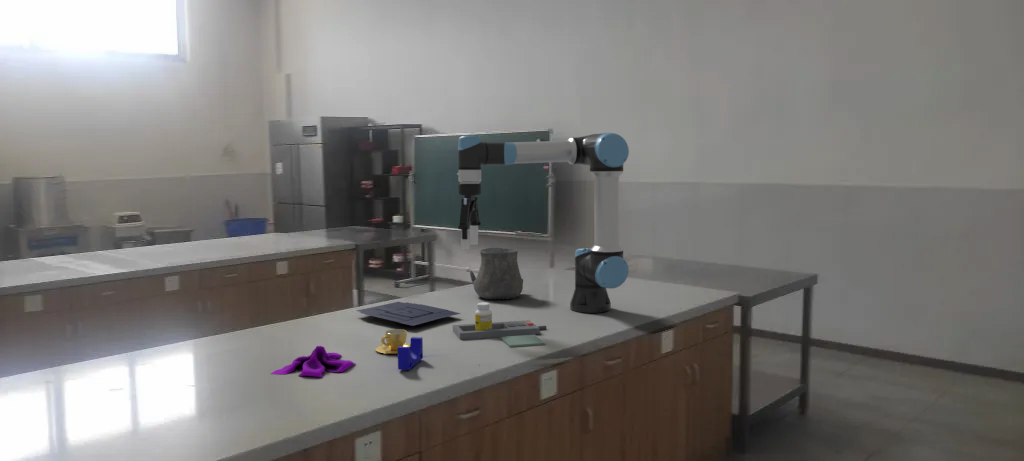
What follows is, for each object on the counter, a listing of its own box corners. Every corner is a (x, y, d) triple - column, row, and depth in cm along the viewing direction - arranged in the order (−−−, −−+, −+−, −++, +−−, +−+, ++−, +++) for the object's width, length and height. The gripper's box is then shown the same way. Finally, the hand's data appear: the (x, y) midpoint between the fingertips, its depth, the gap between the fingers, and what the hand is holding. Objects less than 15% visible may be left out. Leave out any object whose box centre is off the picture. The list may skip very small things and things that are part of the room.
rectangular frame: (540, 325, 250) (540, 317, 250) (551, 333, 239) (551, 325, 238) (452, 331, 242) (452, 323, 242) (459, 339, 231) (459, 331, 231)
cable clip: (407, 357, 211) (407, 336, 210) (422, 358, 210) (422, 337, 210) (392, 369, 199) (392, 347, 199) (408, 369, 198) (408, 348, 198)
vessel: (538, 299, 296) (538, 250, 294) (492, 306, 284) (491, 254, 282) (508, 292, 314) (508, 245, 312) (463, 297, 302) (462, 248, 300)
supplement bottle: (475, 331, 241) (474, 302, 240) (491, 331, 242) (491, 301, 241) (475, 335, 236) (475, 305, 235) (492, 335, 236) (492, 305, 235)
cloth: (331, 354, 216) (330, 333, 216) (368, 366, 203) (368, 344, 203) (259, 370, 200) (258, 347, 200) (295, 384, 188) (294, 360, 187)
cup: (400, 342, 229) (400, 325, 228) (424, 349, 220) (424, 331, 219) (367, 349, 220) (367, 331, 220) (391, 357, 212) (390, 338, 211)
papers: (401, 308, 279) (401, 298, 278) (461, 321, 260) (461, 310, 260) (351, 319, 259) (351, 309, 259) (412, 334, 241) (412, 323, 241)
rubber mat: (534, 336, 234) (534, 334, 234) (544, 344, 224) (544, 342, 224) (500, 338, 232) (500, 336, 232) (509, 347, 221) (509, 345, 221)
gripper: (466, 181, 257) (467, 242, 259) (449, 183, 233) (449, 251, 235) (488, 181, 256) (488, 243, 258) (472, 184, 232) (473, 251, 233)
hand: (469, 247), depth 246 cm, fingers open, 13 cm apart
